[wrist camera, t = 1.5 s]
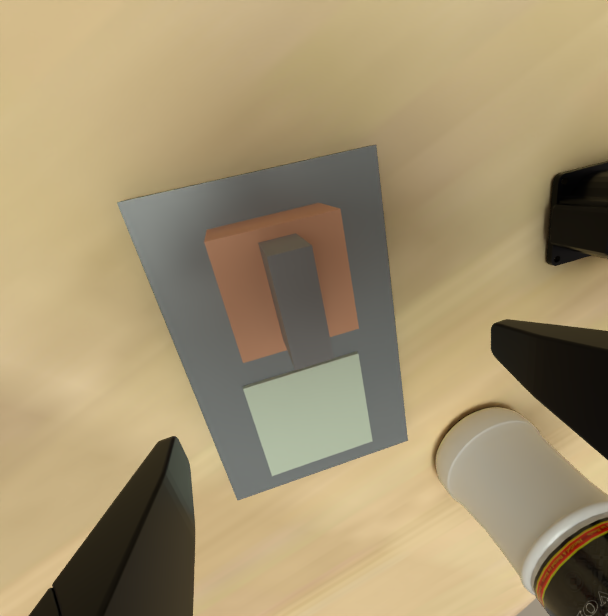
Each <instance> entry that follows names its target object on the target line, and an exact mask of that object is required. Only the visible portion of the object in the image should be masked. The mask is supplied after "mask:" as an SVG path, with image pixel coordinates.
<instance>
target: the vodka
mask: <svg viewBox="0 0 608 616" xmlns="http://www.w3.org/2000/svg"><path fill="white" fill-rule="evenodd" d="M436 470H437V474H438V478H439V480H440V482H441V483H442V485H443V486H444V488H445V489H446V490H447V492H448V493H449V494H450V495H451V496H452V497H453V499H454V500H456V501H457V502H459V503H460V504H461V505H462V506H464V508H465V509H466V510H467V511H468V512H469V513H470V514H471V515H472V516H473V517H474V518H475V519H476V521H477V522H478V523H479V524H480V525H481V526H482V527H483V528H484V529H485V530H486V532H487V533H488V534H489V536H490V537H491V538H492V539H493V541H494V542H495V543H496V545H497V546H498V547H499V548H500V550H501V551H502V552H503V554H504V555H505V557H506V558H507V559H508V561H509V562H510V564H511V565H512V567H513V568H514V569H515V571H516V572H517V574H518V575H519V576H520V578H521V581H522V584H523V585H524V587H525V588H526V589H527V590H528V591H529V592H530V593H532V594H533V595H535V596H536V598H537V599H538V600H539V602H540V603H541V604H542V606H543V607H544V609H545V610H546V611H547V613H548V614H549V615H550V616H608V495H607V494H606V493H604V492H603V491H602V490H601V489H599V488H598V487H597V486H595V485H594V484H593V483H592V482H590V481H589V480H588V479H587V478H586V477H585V476H584V475H583V474H581V473H580V472H579V471H578V470H577V469H576V468H575V467H574V466H573V465H572V464H571V463H569V462H568V461H567V460H566V459H565V458H564V457H563V456H562V455H561V454H560V453H559V452H558V451H557V450H556V449H555V448H553V447H552V446H551V445H550V444H549V443H548V442H547V441H546V440H545V439H544V438H543V437H542V435H541V434H540V432H539V430H538V429H537V428H536V427H535V426H534V425H533V424H532V423H531V422H529V421H528V420H527V419H526V418H524V417H523V416H522V415H521V414H519V413H517V412H516V411H513V410H509V409H506V408H501V407H491V408H485V409H482V410H479V411H476V412H474V413H472V414H470V415H468V416H466V417H465V418H463V419H462V420H460V421H459V422H458V423H457V424H456V425H454V426H453V427H452V429H451V430H450V431H449V432H448V433H447V434H446V436H445V437H444V439H443V440H442V442H441V444H440V446H439V448H438V451H437V454H436Z"/></svg>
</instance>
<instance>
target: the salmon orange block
mask: <svg viewBox="0 0 608 616" xmlns="http://www.w3.org/2000/svg"><path fill="white" fill-rule="evenodd" d="M204 243H205V246H206V250H207V253H208V256H209V259H210V262H211V265H212V268H213V271H214V274H215V278H216V281H217V284H218V287H219V290H220V293H221V296H222V299H223V302H224V306H225V309H226V312H227V315H228V318H229V321H230V324H231V327H232V330H233V334H234V337H235V340H236V343H237V346H238V349H239V352H240V355H241V358H242V362H243V363H245V362H249V361H252V360H256V359H259V358H262V357H266V356H269V355H272V354H276V353H279V352H282V351H286V350H287V351H288V353H289V356H290V358H291V361H292V363H293V366H294V368H295V370H298V369H302V368H305V367H308V366H311V365H315V364H318V363H321V362H324V361H328V360H331V359H334V356H333V350H332V345H331V340H330V337H333V336H336V335H339V334H343V333H346V332H349V331H353V330H356V329H359V325H358V319H357V312H356V306H355V300H354V293H353V287H352V280H351V274H350V267H349V261H348V254H347V248H346V242H345V235H344V229H343V222H342V216H341V209H340V208H336V207H333V206H329V205H325V204H322V203H315V204H311V205H307V206H303V207H299V208H295V209H290V210H286V211H282V212H278V213H274V214H270V215H266V216H261V217H257V218H253V219H249V220H245V221H241V222H237V223H233V224H228V225H224V226H220V227H216V228H212V229H208V230H206V235H205V241H204Z"/></svg>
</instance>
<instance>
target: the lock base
mask: <svg viewBox="0 0 608 616" xmlns="http://www.w3.org/2000/svg"><path fill="white" fill-rule="evenodd" d="M315 203H322V204H325V205H329V206H333V207H336V208H340V209H341V216H342V222H343V229H344V235H345V242H346V248H347V254H348V261H349V267H350V274H351V280H352V287H353V293H354V300H355V306H356V312H357V319H358V325H359V329H356V330H353V331H349V332H346V333H343V334H339V335H336V336H333V337H330V340H331V345H332V350H333V356H334V359H331V360H328V361H324V362H321V363H318V364H315V365H311V366H308V367H305V368H302V369H298V370H295V368H294V366H293V363H292V361H291V358H290V356H289V353H288V351H287V350H286V351H282V352H279V353H276V354H272V355H269V356H266V357H262V358H259V359H256V360H252V361H249V362H245V363H243V362H242V358H241V355H240V352H239V349H238V346H237V343H236V340H235V337H234V334H233V330H232V327H231V324H230V321H229V318H228V315H227V312H226V309H225V306H224V302H223V299H222V296H221V293H220V290H219V287H218V284H217V281H216V278H215V274H214V271H213V268H212V265H211V262H210V259H209V256H208V253H207V250H206V246H205V243H204V241H205V235H206V230H208V229H212V228H216V227H220V226H224V225H228V224H233V223H237V222H241V221H245V220H249V219H253V218H257V217H261V216H266V215H270V214H274V213H278V212H282V211H286V210H290V209H295V208H299V207H303V206H307V205H311V204H315ZM117 204H118V206H119V209H120V211H121V214H122V216H123V219H124V221H125V224H126V226H127V229H128V231H129V234H130V236H131V239H132V241H133V243H134V246H135V248H136V251H137V253H138V256H139V258H140V261H141V263H142V266H143V268H144V271H145V273H146V276H147V278H148V280H149V283H150V285H151V288H152V290H153V293H154V295H155V298H156V300H157V303H158V305H159V308H160V310H161V313H162V315H163V317H164V320H165V322H166V325H167V327H168V330H169V332H170V335H171V337H172V340H173V342H174V345H175V347H176V350H177V352H178V355H179V357H180V359H181V362H182V364H183V367H184V369H185V372H186V374H187V377H188V379H189V382H190V384H191V387H192V389H193V392H194V394H195V396H196V399H197V401H198V404H199V406H200V409H201V411H202V414H203V416H204V419H205V421H206V424H207V426H208V429H209V431H210V433H211V436H212V438H213V441H214V443H215V446H216V448H217V451H218V453H219V456H220V458H221V461H222V463H223V466H224V468H225V470H226V473H227V475H228V478H229V480H230V483H231V485H232V488H233V490H234V493H235V495H236V498H237V500H240V499H243V498H246V497H249V496H252V495H255V494H258V493H260V492H263V491H266V490H269V489H272V488H275V487H277V486H280V485H283V484H286V483H289V482H292V481H294V480H297V479H300V478H303V477H306V476H309V475H311V474H314V473H317V472H320V471H323V470H326V469H328V468H331V467H334V466H337V465H340V464H343V463H345V462H348V461H351V460H354V459H357V458H360V457H362V456H365V455H368V454H371V453H374V452H377V451H380V450H382V449H385V448H388V447H391V446H394V445H397V444H399V443H402V442H405V441H408V438H407V428H406V419H405V410H404V400H403V391H402V382H401V372H400V363H399V354H398V344H397V335H396V326H395V316H394V307H393V298H392V288H391V279H390V270H389V260H388V251H387V242H386V232H385V223H384V213H383V204H382V195H381V185H380V176H379V167H378V157H377V148H376V145H372V146H367V147H362V148H358V149H354V150H349V151H345V152H340V153H336V154H331V155H327V156H322V157H318V158H313V159H309V160H304V161H300V162H295V163H291V164H286V165H282V166H277V167H273V168H268V169H264V170H260V171H255V172H251V173H246V174H242V175H237V176H233V177H228V178H224V179H219V180H215V181H210V182H206V183H201V184H197V185H192V186H188V187H183V188H179V189H174V190H170V191H166V192H161V193H157V194H152V195H148V196H143V197H139V198H134V199H130V200H125V201H121V202H117Z"/></svg>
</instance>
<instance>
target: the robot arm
mask: <svg viewBox="0 0 608 616" xmlns="http://www.w3.org/2000/svg"><path fill="white" fill-rule="evenodd" d="M562 179H563V181H562ZM591 255H593V256H598V257H602V258H607V259H608V161H606V162H602V163H598V164H594V165H590V166H586V167H582V168H579V169H575V170H571V171H567V172H563V173H560V174H558V175H557V176H556V177H555V178H554V181H553V190H552V202H551V214H550V226H549V238H548V250H547V263H548V264H550V265H553V266H557V265H560V264H564V263H567V262H571V261H574V260H577V259H581V258H584V257H587V256H591ZM491 351H492V353H493V355H494V356H495V358H496V359H497V360H498V361H499V362H500V363H501V364H502V365H503V366H504V367H505V368H506V369H507V370H508V371H509V372H510V373H511V374H512V375H513V376H514V377H515V378H516V379H517V380H518V381H519V382H520V383H521V384H522V385H523V386H524V387H525V388H526V389H527V390H528V391H529V392H530V393H531V394H532V395H533V396H534V397H535V398H536V399H537V400H538V401H539V402H541V403H542V404H543V405H544V406H545V407H546V408H548V409H549V410H550V411H551V412H552V413H553V414H555V415H556V416H557V417H558V418H559V419H560V420H562V421H563V422H564V423H565V424H566V425H567V426H569V427H570V428H571V429H572V430H573V431H574V432H576V433H577V434H578V435H579V436H580V437H581V438H583V439H584V440H585V441H586V442H587V443H588V444H590V445H591V446H592V447H593V448H594V449H595V450H597V451H598V452H599V453H600V454H601V455H602V456H604V457H605V458H606V459H607V460H608V331H603V330H595V329H586V328H578V327H569V326H561V325H552V324H543V323H535V322H526V321H518V320H509V319H506V320H502V321H499V322H497V323H494V324H493V325H492V327H491ZM194 563H195V518H194V506H193V495H192V483H191V471H190V464H189V461H188V458H187V456H186V454H185V452H184V450H183V448H182V446H181V444H180V442H179V440H178V438H177V437H175V436H172V437H169V438H166V439H163V440H161V441H159V442H158V443H157V444H156V445H155V446H154V448H153V449H152V450H151V452H150V453H149V455H148V456H147V457H146V459H145V460H144V461H143V463H142V464H141V465H140V467H139V468H138V469H137V471H136V472H135V473H134V475H133V476H132V477H131V479H130V480H129V481H128V483H127V484H126V486H125V487H124V488H123V490H122V491H121V492H120V494H119V495H118V496H117V498H116V499H115V500H114V502H113V503H112V504H111V506H110V507H109V508H108V510H107V511H106V512H105V514H104V515H103V517H102V518H101V519H100V521H99V522H98V523H97V525H96V526H95V527H94V529H93V530H92V531H91V533H90V534H89V535H88V537H87V538H86V539H85V541H84V542H83V543H82V545H81V546H80V548H79V549H78V550H77V552H76V553H75V554H74V556H73V557H72V558H71V560H70V561H69V562H68V564H67V565H66V566H65V568H64V569H63V570H62V572H61V573H60V574H59V576H58V577H57V579H56V580H55V581H54V583H53V585H52V586H53V588H49V589H48V590H47V592H46V593H45V594H44V596H43V597H42V599H41V600H40V601H39V603H38V604H37V605H36V607H35V608H34V609H33V611H32V612H31V613H30V615H29V616H193V595H194Z"/></svg>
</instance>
